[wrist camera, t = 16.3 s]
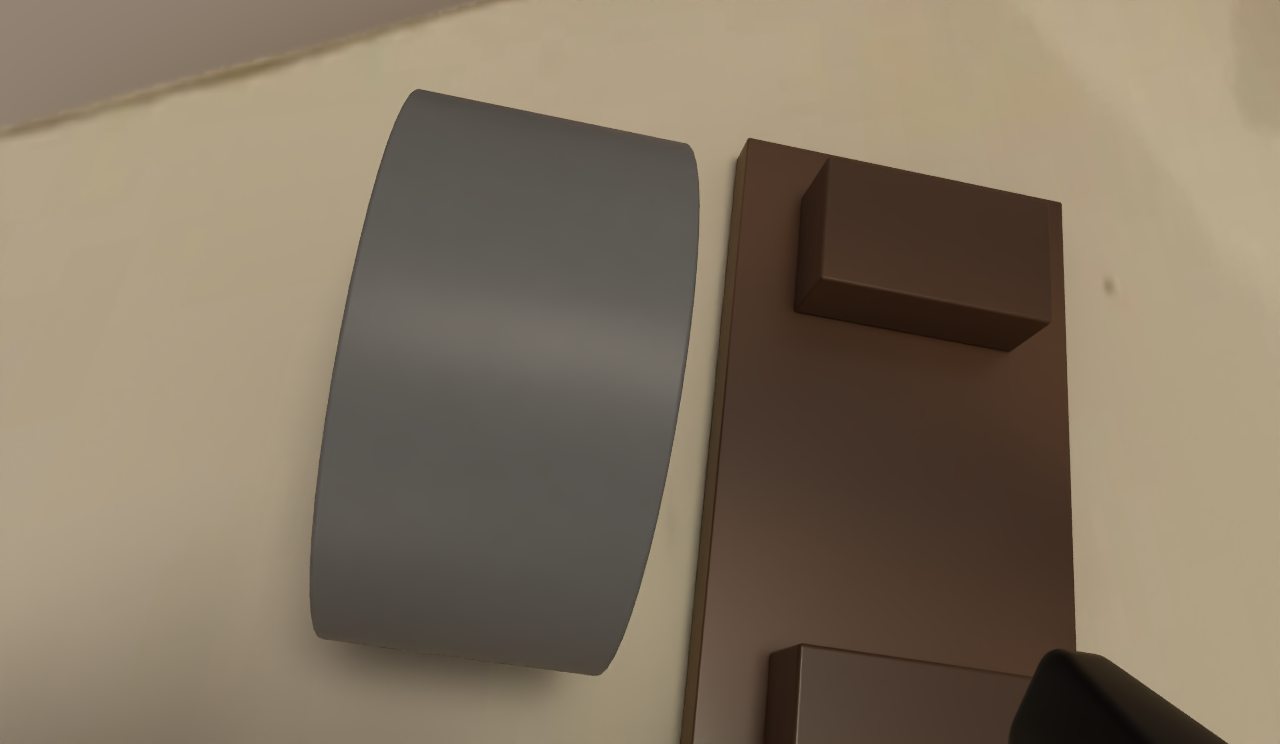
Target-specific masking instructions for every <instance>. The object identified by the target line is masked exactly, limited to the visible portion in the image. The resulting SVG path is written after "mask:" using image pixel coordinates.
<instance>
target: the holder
mask: <svg viewBox="0 0 1280 744" xmlns="http://www.w3.org/2000/svg"><path fill="white" fill-rule="evenodd" d="M1054 649H1065V650H1072V651H1076V630H1075V599H1074V569H1073V538H1072V508H1071V477H1070V447H1069V416H1068V385H1067V355H1066V324H1065V294H1064V263H1063V233H1062V204H1061V203H1060V202H1055V201H1051V200H1046V199H1041V198H1036V197H1031V196H1026V195H1022V194H1017V193H1012V192H1007V191H1002V190H998V189H993V188H988V187H983V186H978V185H974V184H969V183H964V182H959V181H954V180H949V179H945V178H940V177H935V176H930V175H925V174H921V173H916V172H911V171H906V170H901V169H897V168H892V167H887V166H882V165H877V164H872V163H868V162H863V161H858V160H853V159H848V158H844V157H839V156H834V155H829V154H824V153H820V152H815V151H810V150H805V149H800V148H795V147H791V146H786V145H781V144H776V143H771V142H767V141H762V140H757V139H752V138H748V140H747V142H746V143H745V145H744V147H743V149H742V151H741V153H740V155H739V157H738V159H737V168H736V178H735V189H734V199H733V209H732V220H731V230H730V240H729V251H728V261H727V271H726V282H725V292H724V302H723V313H722V323H721V333H720V344H719V354H718V364H717V375H716V385H715V395H714V405H713V416H712V426H711V436H710V447H709V457H708V467H707V478H706V488H705V498H704V509H703V519H702V529H701V540H700V550H699V560H698V571H697V581H696V591H695V602H694V612H693V622H692V632H691V643H690V653H689V663H688V674H687V684H686V694H685V705H684V715H683V725H682V736H681V744H1008V736H1009V731H1010V727H1011V724H1012V721H1013V719H1014V717H1015V714H1016V712H1017V710H1018V708H1019V706H1020V703H1021V701H1022V699H1023V697H1024V695H1025V692H1026V690H1027V688H1028V686H1029V684H1030V681H1031V679H1032V677H1033V675H1034V673H1035V670H1036V668H1037V666H1038V664H1039V662H1040V661H1041V659H1042V657H1043V656H1044V655H1045V654H1046V653H1048V652H1049V651H1052V650H1054Z"/></svg>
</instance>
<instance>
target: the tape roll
mask: <svg viewBox="0 0 1280 744" xmlns="http://www.w3.org/2000/svg"><path fill="white" fill-rule="evenodd" d="M699 208H700V203H699V180H698V171H697V164H696V159H695V156H694V152H693V150H692V149H691V147H690V146H689V145H688V144H686V143H681V142H676V141H671V140H666V139H661V138H656V137H651V136H646V135H642V134H637V133H632V132H627V131H622V130H617V129H612V128H607V127H602V126H597V125H593V124H588V123H583V122H578V121H573V120H568V119H563V118H558V117H553V116H548V115H543V114H539V113H534V112H529V111H524V110H519V109H514V108H509V107H504V106H499V105H494V104H490V103H485V102H480V101H475V100H470V99H465V98H460V97H455V96H450V95H445V94H440V93H436V92H431V91H426V90H421V89H417V90H415V91H413V92H412V93H411V94H410V95H409V97H408V98H407V100H406V101H405V103H404V105H403V106H402V108H401V110H400V113H399V115H398V117H397V119H396V121H395V124H394V126H393V129H392V131H391V134H390V137H389V139H388V142H387V145H386V148H385V151H384V154H383V157H382V160H381V164H380V167H379V170H378V173H377V177H376V180H375V184H374V187H373V191H372V194H371V198H370V201H369V205H368V209H367V213H366V217H365V221H364V225H363V229H362V233H361V237H360V241H359V245H358V250H357V254H356V259H355V263H354V267H353V272H352V276H351V281H350V285H349V290H348V295H347V300H346V305H345V310H344V315H343V320H342V325H341V330H340V335H339V341H338V346H337V352H336V357H335V363H334V368H333V374H332V380H331V386H330V392H329V399H328V405H327V411H326V417H325V424H324V431H323V439H322V446H321V453H320V460H319V468H318V477H317V486H316V495H315V503H314V515H313V526H312V538H311V556H310V608H311V617H312V622H313V627H314V630H315V632H316V634H317V636H318V637H320V638H322V639H326V640H334V641H341V642H349V643H356V644H363V645H371V646H378V647H385V648H393V649H400V650H407V651H415V652H422V653H429V654H437V655H444V656H452V657H459V658H466V659H474V660H481V661H488V662H496V663H503V664H510V665H518V666H525V667H533V668H540V669H547V670H555V671H562V672H569V673H577V674H584V675H591V676H596V675H601V674H602V673H603V672H604V671H605V670H606V669H607V668H608V666H609V664H610V663H611V661H612V660H613V658H614V656H615V654H616V652H617V650H618V647H619V645H620V643H621V641H622V639H623V636H624V633H625V631H626V628H627V625H628V622H629V620H630V617H631V614H632V611H633V608H634V605H635V601H636V598H637V595H638V592H639V589H640V585H641V581H642V578H643V574H644V570H645V567H646V563H647V559H648V556H649V552H650V548H651V544H652V539H653V535H654V531H655V527H656V523H657V519H658V514H659V510H660V505H661V500H662V496H663V491H664V486H665V482H666V477H667V472H668V467H669V461H670V456H671V451H672V446H673V440H674V435H675V430H676V424H677V418H678V412H679V406H680V399H681V393H682V387H683V380H684V373H685V367H686V360H687V353H688V346H689V337H690V329H691V321H692V312H693V304H694V293H695V282H696V271H697V258H698V241H699Z"/></svg>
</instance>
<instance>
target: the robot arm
mask: <svg viewBox="0 0 1280 744" xmlns="http://www.w3.org/2000/svg"><path fill="white" fill-rule="evenodd" d="M1008 744H1228V743H1227V742H1225V741H1224V740H1222V739H1221V738H1220V737H1218V736H1217V735H1215V734H1214V733H1212V732H1211V731H1210V730H1208V729H1207V728H1205V727H1204V726H1202V725H1201V724H1200V723H1198V722H1197V721H1195V720H1194V719H1192V718H1191V717H1190V716H1188V715H1187V714H1185V713H1184V712H1182V711H1181V710H1180V709H1178V708H1177V707H1175V706H1174V705H1173V704H1171V703H1170V702H1168V701H1167V700H1165V699H1164V698H1163V697H1161V696H1160V695H1158V694H1157V693H1155V692H1154V691H1153V690H1151V689H1150V688H1148V687H1147V686H1145V685H1144V684H1143V683H1141V682H1140V681H1138V680H1137V679H1135V678H1134V677H1133V676H1131V675H1130V674H1128V673H1127V672H1125V671H1124V670H1123V669H1121V668H1120V667H1118V666H1117V665H1115V664H1114V663H1113V662H1111V661H1110V660H1108V659H1107V658H1105V657H1103V656H1100V655H1097V654H1092V653H1085V652H1078V651H1072V650H1065V649H1054V650H1052V651H1049V652H1048V653H1046V654H1045V655H1044V656H1043V657H1042V659H1041V661H1040V662H1039V664H1038V666H1037V668H1036V670H1035V673H1034V675H1033V677H1032V679H1031V681H1030V684H1029V686H1028V688H1027V690H1026V692H1025V695H1024V697H1023V699H1022V701H1021V703H1020V706H1019V708H1018V710H1017V712H1016V714H1015V717H1014V719H1013V721H1012V724H1011V727H1010V731H1009V736H1008Z"/></svg>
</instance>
